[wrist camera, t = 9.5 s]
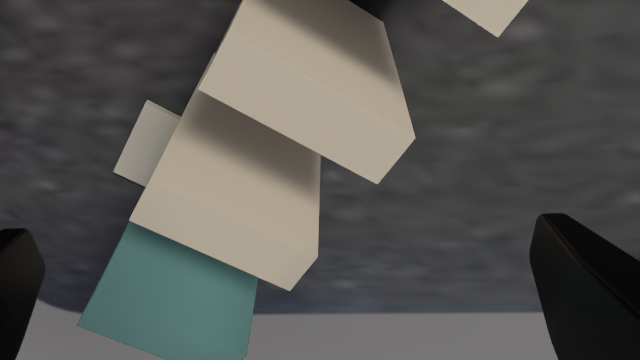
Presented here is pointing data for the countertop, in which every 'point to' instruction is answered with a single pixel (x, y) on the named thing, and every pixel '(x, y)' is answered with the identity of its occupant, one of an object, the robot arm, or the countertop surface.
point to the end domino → (172, 300)
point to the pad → (146, 143)
